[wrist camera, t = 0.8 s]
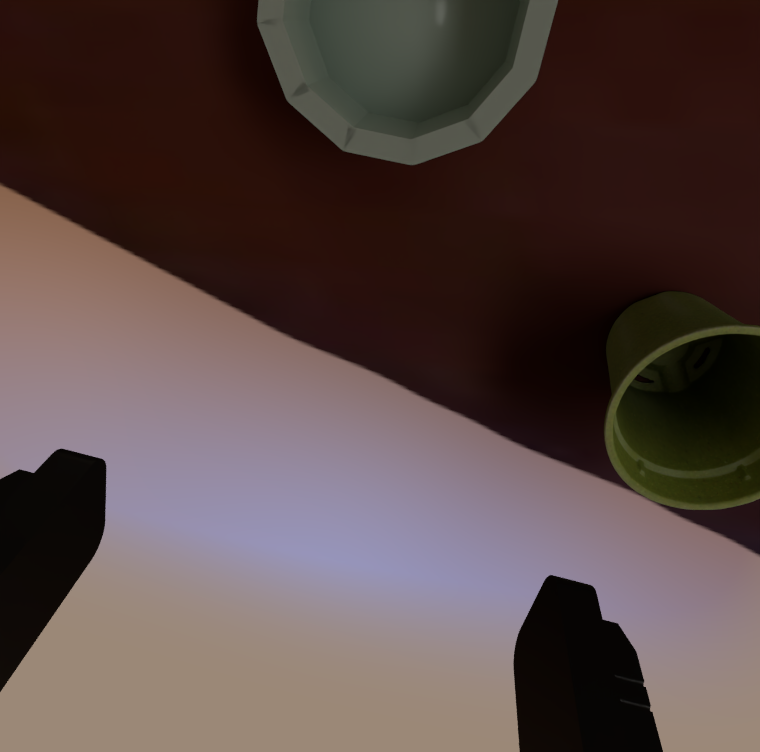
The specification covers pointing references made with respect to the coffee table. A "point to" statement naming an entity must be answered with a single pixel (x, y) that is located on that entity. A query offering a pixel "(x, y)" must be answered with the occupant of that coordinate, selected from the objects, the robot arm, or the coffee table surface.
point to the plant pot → (684, 403)
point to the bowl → (405, 68)
